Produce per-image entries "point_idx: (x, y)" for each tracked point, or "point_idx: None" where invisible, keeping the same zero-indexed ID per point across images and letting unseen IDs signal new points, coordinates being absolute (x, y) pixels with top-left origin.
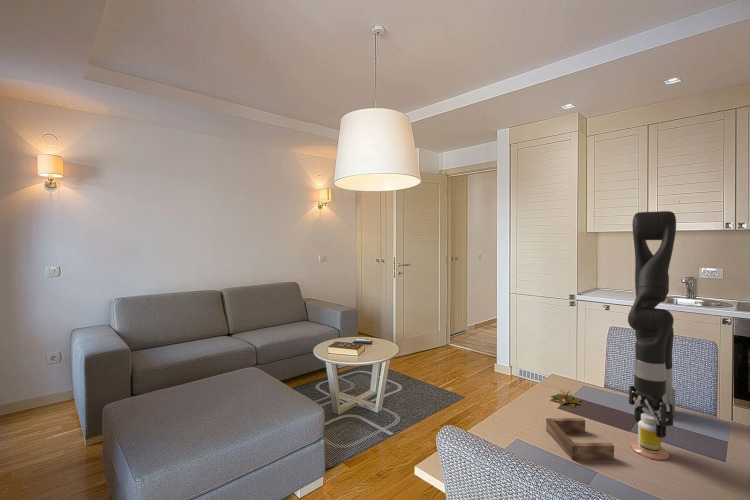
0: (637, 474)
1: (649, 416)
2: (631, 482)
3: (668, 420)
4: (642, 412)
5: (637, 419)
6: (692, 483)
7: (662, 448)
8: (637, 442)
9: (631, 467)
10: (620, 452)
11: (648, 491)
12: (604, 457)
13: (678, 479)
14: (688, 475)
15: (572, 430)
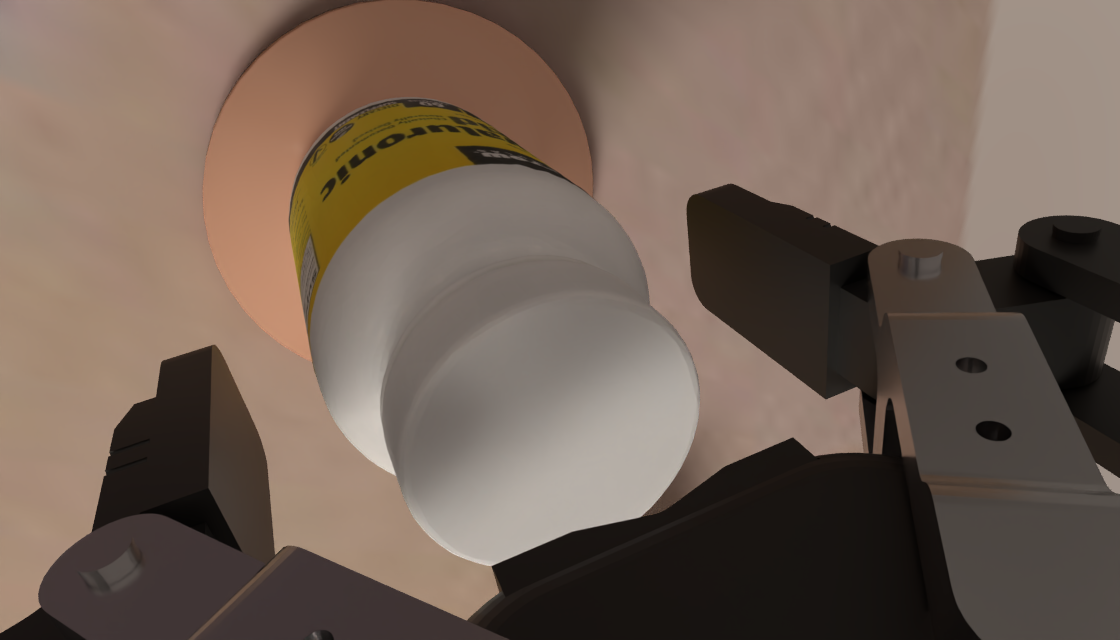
0: (785, 412)
1: (572, 442)
2: None
3: (1089, 297)
4: (226, 479)
5: (263, 467)
6: (890, 50)
7: (352, 29)
8: (278, 293)
9: (710, 431)
10: None
11: None
12: None
13: (842, 141)
14: (798, 11)
15: None
